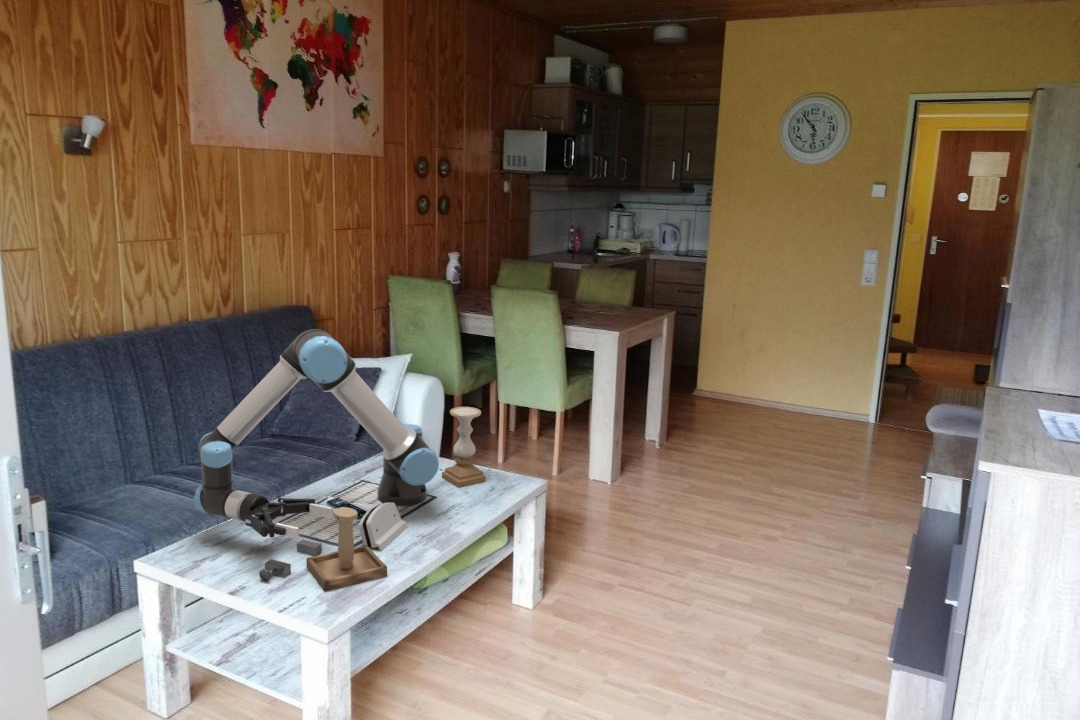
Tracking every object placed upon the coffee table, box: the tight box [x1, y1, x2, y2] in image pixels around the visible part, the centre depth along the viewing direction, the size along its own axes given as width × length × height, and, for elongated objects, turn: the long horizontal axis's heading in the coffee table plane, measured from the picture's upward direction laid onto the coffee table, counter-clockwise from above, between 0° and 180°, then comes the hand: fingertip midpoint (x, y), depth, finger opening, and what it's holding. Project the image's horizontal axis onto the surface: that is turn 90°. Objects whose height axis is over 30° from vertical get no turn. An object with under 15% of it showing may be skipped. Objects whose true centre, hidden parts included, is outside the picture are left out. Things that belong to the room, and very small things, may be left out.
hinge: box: [358, 502, 408, 552], centre depth 221 cm, size 17×5×10 cm, turn 164°
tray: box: [305, 545, 388, 592], centre depth 201 cm, size 16×14×2 cm
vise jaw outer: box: [258, 558, 292, 582], centre depth 197 cm, size 6×6×3 cm
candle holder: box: [441, 406, 487, 488], centre depth 263 cm, size 11×11×24 cm
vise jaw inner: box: [296, 539, 323, 557], centre depth 210 cm, size 2×6×2 cm, turn 69°
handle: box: [332, 506, 359, 569], centre depth 199 cm, size 5×6×15 cm
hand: (315, 523), depth 202 cm, fingers open, 13 cm apart
